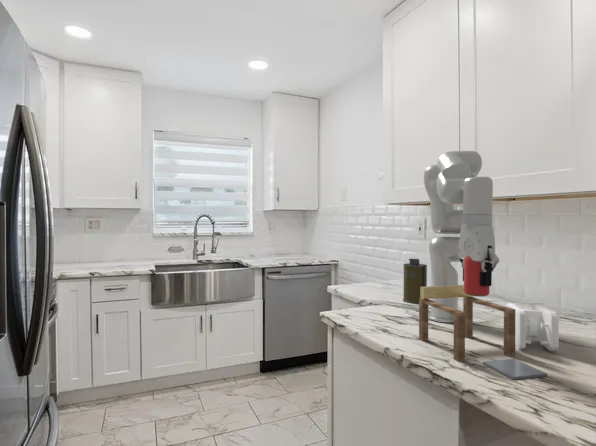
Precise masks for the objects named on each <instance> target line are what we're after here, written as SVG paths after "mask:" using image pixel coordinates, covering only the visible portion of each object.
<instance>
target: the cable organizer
mask: <svg viewBox="0 0 596 446" xmlns="http://www.w3.org/2000/svg"><path fill="white" fill-rule="evenodd" d="M505 307H509V308H512V309H515V348H517V349H518V350H520V351H521V350H523V349H525V348H526V347H527V344H530V345H529V346H531V344H532V342H538V343H539V344H540V346H541V347H545V348H546V350H548V351H549V352H552V353H553V352H557V351H558V350H559V345H560V344H559V336H560V335H559V332H560V331H559V330H560V329H559V327H560V325H559V322H560V321H559V315H558V314H557V312H555V311H553V310H551V309H549V308H547V307H546V306H545V305H542V304H534V305H533V306H532V309H525V308H523V309H522V308H521V307H519V306H517V305H516V304H514V303H511V302H510V303H509V302H508V303H507V302H506V304H505Z"/></svg>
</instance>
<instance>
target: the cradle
mask: <svg viewBox="0 0 596 446" xmlns="http://www.w3.org/2000/svg"><path fill="white" fill-rule="evenodd" d="M462 299H463V300H462V301H463V302H462V303H463V304H462V305H463V307H462V308H463V310H459V309H458V310H457V309H454V308H451V307H449V306H446V305H443V304H440V303H437V302H435V301H432V299H422V298H419V303H418V339H419V340H420V341H422V342H428V341H429V318H428V313H429V308H428V306H429V305H430V306H432V307H435V308H438V309H440V310H443V311H445V312H448V313H451V314H453V315H454V323H453V360H455V361H457V362H465V361H466V360H465V359H466V338H468V339H469V338H474V336H473V335H474V334H473V332H474V328H473V326H474V325H473V324H474V311H473V310H474V305H473V304H474V303H475V304H477V305H481V306H484V307H487V308H491V309H494V310H498V311H501V312H503V355H504V356H507V357H516V345H515V309H512V308H509V307H506V305H502V304H497V303H495V302H491V301H487V300H485V299H480V298H477V297H462Z"/></svg>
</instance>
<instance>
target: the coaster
mask: <svg viewBox="0 0 596 446" xmlns="http://www.w3.org/2000/svg"><path fill="white" fill-rule="evenodd" d="M481 364H482V365H483V366H485V367H487V368H490V369H491V370H492V371H495V372H497V373H499V374H501V375H502V376H505V377H506V378H509V379H510V380H511V381H512V380H521V379H530V378H540V377H547V376H548V373H547V372H545V371H543V370H541V369H539V368H536V367H534V366H532V365H530V364H527V363H525V362H523V361H522V360H521V361H520V360H518V359H516V358H508V359H507V358H505V359H497V360H487V361H486V360H485V361H482V363H481Z"/></svg>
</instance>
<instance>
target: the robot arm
mask: <svg viewBox="0 0 596 446" xmlns="http://www.w3.org/2000/svg"><path fill="white" fill-rule="evenodd" d="M482 165H483V160H482V156H481V155H480V153H479V152H478V151H474V150H457V151H456V150H454V151H453V150H452V151H446V152H444V153H442V154H441V155H440V156H439V157H438V160H437V164H434V165H429V166H427V167H426V168H425V169H424V171H423V182H424V188H425V191H426V193H427V196H428V199H429V203H430V221H431V228H432V231H433V232H434V233H436V234H440V235H459V236H438V237H434V238H432V239H430V241H429V245H428V249H429V250H428V252H429V256H430V257H429V258H430V266H431V267H430V268H431V274H430V275H431V277H430V278H431V286H451V285H459V275H458V272H457V270H456V268H455V267H454V266H453V265H452V263H456V262H457V263H458V262H460V263H461V268H462V282H464V259H465V257H466V256H470V257H471V259H472V260H473V261H475V262H480V265H481V269H482V272H480V286H490V287H491V286H492V285H493V284H492V280H493V279H492V274H493V272H494V269H495V268H496V267H497V265H498V264H499V263H500V258H499V257H498V255H497V253H496V238H495V232H494V231H495V230H494V226H493V200H494V199H493V198H494V197H493V194H494V193H493V192H494V188H493V187H494V185H493V184H494V183H493V178H491V177H489V176H478V175H479V173H480V172H481V170H482ZM454 204H462V209H455V208H454ZM485 258H487V260H485ZM485 263H487V265H486V266H485ZM431 300H432V301H435V302H437V303H440V304H443V305H446V306H449V307H451V308H454V309H457V310H459V298H438V299H431ZM428 310H430V312H428V320H431V321H434V322H438V323H439V322H440V323H447V324H451V323H453V324H454V315H453V314H451V313H448V312H445V311H443V310H440V309H438V308H435V307H432V306H430V305H428Z"/></svg>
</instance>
